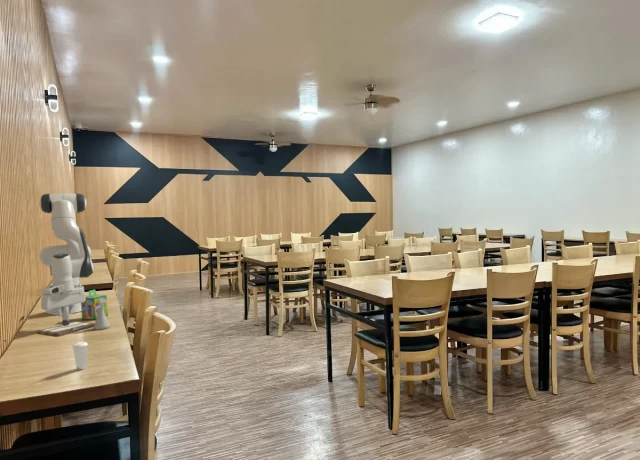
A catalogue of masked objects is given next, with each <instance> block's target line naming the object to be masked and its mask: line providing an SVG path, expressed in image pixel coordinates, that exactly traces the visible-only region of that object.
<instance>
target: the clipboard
mask: <svg viewBox="0 0 640 460" xmlns="http://www.w3.org/2000/svg"><path fill="white" fill-rule="evenodd" d="M94 325H95V322H86V321H75V320H74V321H70V324H68V325H63V324H61V325H56V326H53V327H48V328H44V329H40V330H37V334H41V335H47V336H54V337H63V336H65V335H69V334H73V333H77V332H79V331H80V332H81V331H83V330H87V329H91V328H94Z"/></svg>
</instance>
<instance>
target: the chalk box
mask: <svg viewBox="0 0 640 460" xmlns="http://www.w3.org/2000/svg"><path fill="white" fill-rule="evenodd" d="M92 293H93V294H92ZM85 298H86V300H85V302H82V303H81V309H82V311H81V319H82V320H95V321H96V318H97V313H98V311H97V308H98V307H104V313H105V316H106V317H108V316H109V315H108V300H107V295H103V294H97V291H96V289H92V290H88V296H85Z"/></svg>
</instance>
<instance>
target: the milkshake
mask: <svg viewBox="0 0 640 460" xmlns="http://www.w3.org/2000/svg"><path fill="white" fill-rule="evenodd" d="M70 344H71V346H72V351H73V354H74V360H75V367H76V370H77V371H83V370H86V369H87V368H88V351H89V350H88V349H89V348H88V347H89V346H88V345H89V343H87V342H86V341H78V342H75V343H74V344H73V343H70Z"/></svg>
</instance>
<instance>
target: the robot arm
mask: <svg viewBox="0 0 640 460" xmlns="http://www.w3.org/2000/svg"><path fill="white" fill-rule="evenodd" d="M85 197H86V196H85V195H84V194H83V193H71V192H62V193H60V192H59V193H57V192H56V193H45V194H42V195H41V196H40V199H39V201H38V203H39V208H40V209H41V211H42V212H43V213H45V214H50V216H51V217H50V222H51V223H50V224H51V225H50V226H51V230H52V231H53V234H54V237H56V238H57V239H58V240H61V241H65V242H66V244H60V245H59V244H58V245H51V246H46V247H45V246H44V247H42V249H41V250H40V253H39V260H40V262H41V263H42V264H43V265H45V266H47V267H48V268H49V270H50V276H51V277H52V282H51V284H50V285H48V286H46V287H44V288H43V289H41V294H42V295H41V299H40V303H41V304H40V306H41V309H42V310H44V313H45V314H48V315H51V316H58V317H61V318H62V316H63V312H62V310H61V307H64V306H68V308H69V315H73V314H74V313H79V312H82V309H81V303H82V302H85V300H86V298H85V297H86V293H85V287H84V285H82V284H81V283H80V278H83V279H84V278H85V279H86V278H89V277H90V276H91V275H92V274H94V269H95V266H94V264H93V260H92V259H91V257H92V249H91V247H90V246H89V245H88V243H87V238H86V235H85V233H84V230H83V228H81V227H79V226H78V224H77V218H76V213H77V214H79V213H80V214H81V213H83V212H84V211H85V210H86V208H87V205H88V203H87V202H88V201H87V199H86V198H85Z"/></svg>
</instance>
